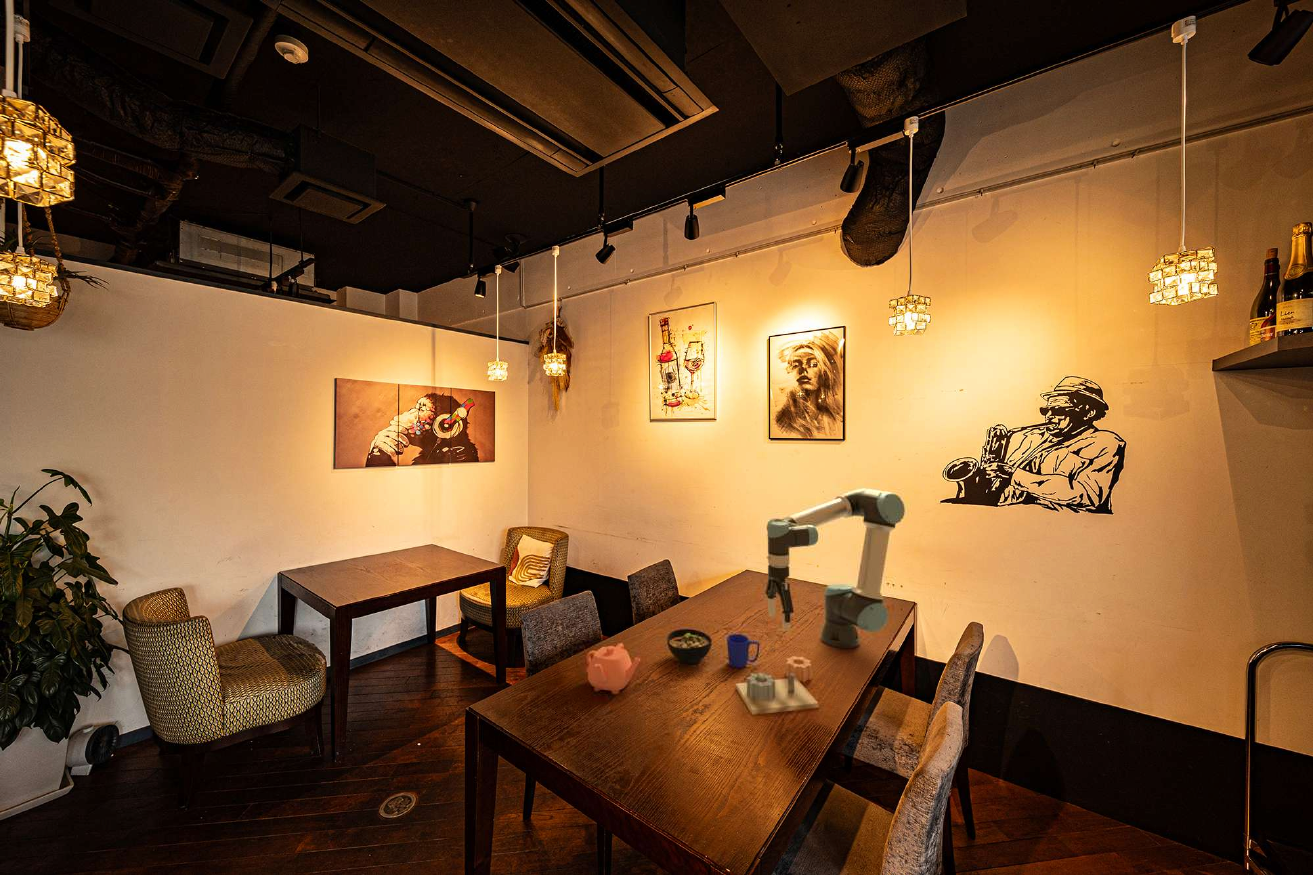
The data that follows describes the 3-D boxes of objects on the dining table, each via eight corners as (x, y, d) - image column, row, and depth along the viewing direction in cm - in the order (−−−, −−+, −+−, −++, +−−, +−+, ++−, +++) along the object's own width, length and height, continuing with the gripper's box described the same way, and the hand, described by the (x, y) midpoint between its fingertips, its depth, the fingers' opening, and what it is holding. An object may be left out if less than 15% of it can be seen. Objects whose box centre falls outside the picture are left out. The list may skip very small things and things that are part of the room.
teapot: (642, 690, 166) (641, 651, 166) (596, 704, 157) (595, 663, 157) (621, 670, 180) (621, 634, 180) (578, 682, 171) (577, 644, 171)
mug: (759, 672, 178) (759, 644, 178) (726, 669, 180) (726, 642, 180) (759, 661, 186) (759, 635, 186) (727, 658, 188) (727, 633, 188)
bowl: (681, 676, 175) (681, 648, 175) (659, 656, 190) (659, 631, 190) (720, 665, 183) (720, 638, 183) (696, 647, 198) (696, 623, 198)
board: (795, 681, 171) (795, 662, 170) (818, 707, 155) (818, 685, 155) (735, 687, 167) (735, 667, 167) (752, 714, 151) (752, 692, 151)
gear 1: (761, 684, 166) (761, 669, 166) (781, 696, 159) (781, 681, 159) (741, 692, 161) (741, 677, 161) (760, 705, 154) (760, 689, 154)
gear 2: (804, 668, 180) (804, 655, 180) (816, 680, 171) (816, 666, 171) (781, 670, 179) (781, 657, 179) (792, 683, 170) (792, 668, 170)
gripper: (756, 556, 189) (757, 611, 189) (782, 575, 164) (782, 638, 164) (775, 555, 190) (775, 609, 190) (803, 574, 165) (803, 636, 165)
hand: (778, 623), depth 177 cm, fingers open, 13 cm apart
